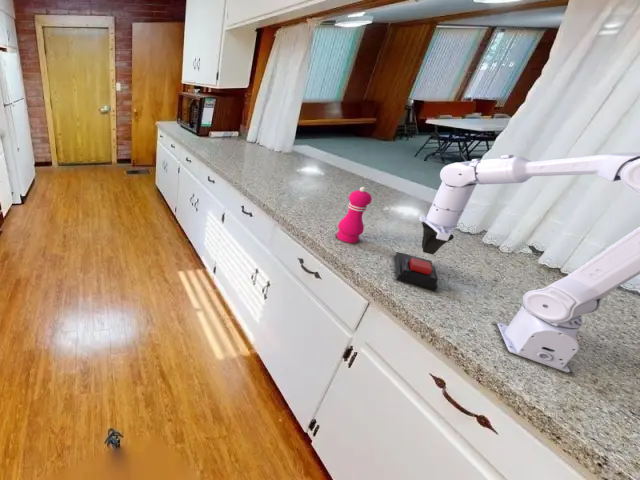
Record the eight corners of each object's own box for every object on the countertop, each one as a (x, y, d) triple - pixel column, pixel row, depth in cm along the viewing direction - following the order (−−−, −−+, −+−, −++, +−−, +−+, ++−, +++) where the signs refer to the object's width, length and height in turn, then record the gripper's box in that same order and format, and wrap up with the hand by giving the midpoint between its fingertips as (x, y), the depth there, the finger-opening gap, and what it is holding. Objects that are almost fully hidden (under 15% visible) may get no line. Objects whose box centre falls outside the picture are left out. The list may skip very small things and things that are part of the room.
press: (434, 291, 80) (440, 280, 78) (396, 280, 85) (401, 268, 83) (428, 266, 90) (434, 255, 88) (394, 256, 95) (399, 246, 93)
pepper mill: (333, 238, 105) (348, 187, 97) (337, 231, 110) (352, 181, 102) (357, 246, 100) (376, 193, 92) (361, 237, 105) (378, 186, 97)
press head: (429, 275, 81) (432, 269, 80) (409, 270, 83) (412, 264, 82) (427, 268, 84) (430, 262, 83) (408, 263, 86) (411, 257, 85)
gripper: (423, 193, 83) (406, 234, 88) (429, 213, 72) (409, 258, 78) (459, 200, 79) (439, 242, 84) (471, 221, 68) (447, 268, 74)
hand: (427, 250), depth 81 cm, fingers closed
